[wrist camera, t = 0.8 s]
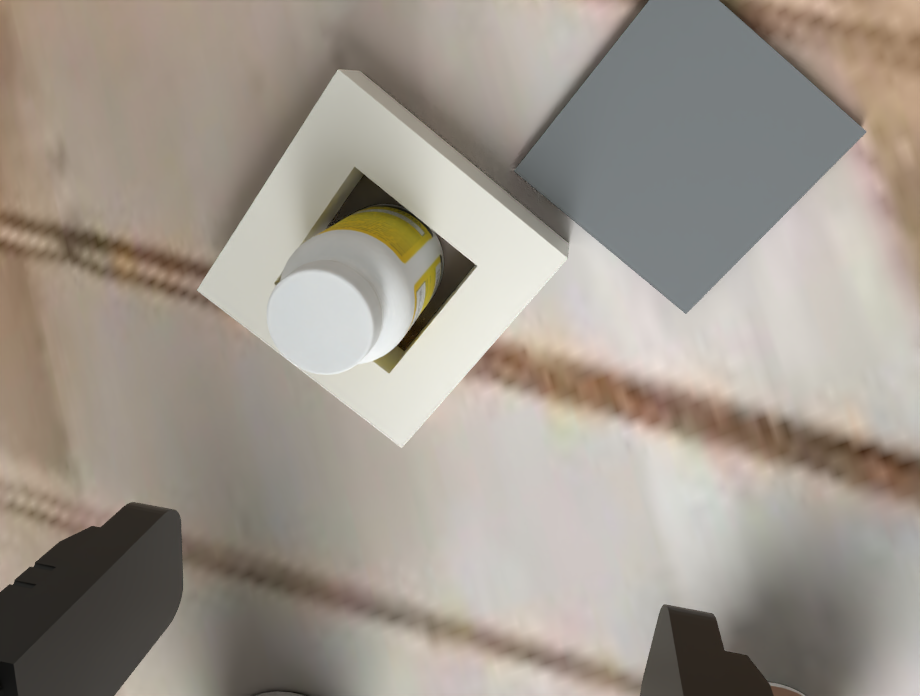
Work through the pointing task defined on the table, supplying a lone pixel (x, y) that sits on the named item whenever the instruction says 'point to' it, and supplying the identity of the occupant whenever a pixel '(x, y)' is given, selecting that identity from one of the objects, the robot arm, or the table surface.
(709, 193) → the rubber pad
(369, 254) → the supplement bottle
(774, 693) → the coffee cup
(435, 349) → the frame
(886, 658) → the table surface
